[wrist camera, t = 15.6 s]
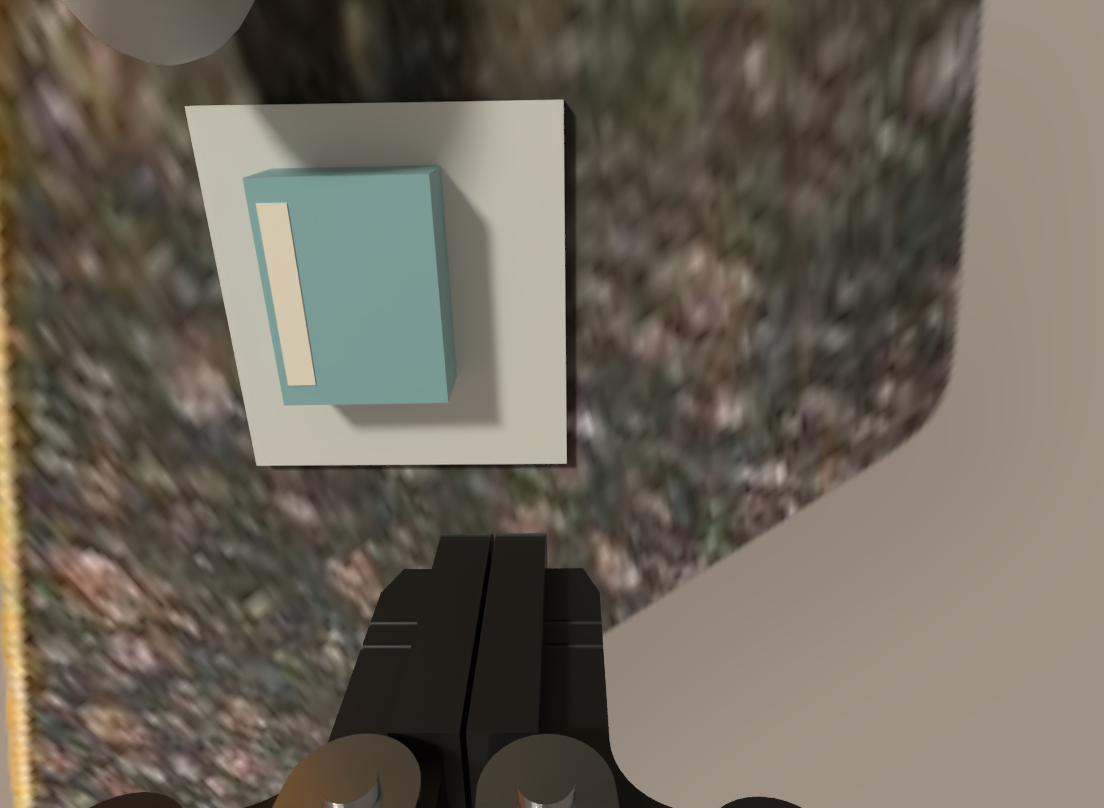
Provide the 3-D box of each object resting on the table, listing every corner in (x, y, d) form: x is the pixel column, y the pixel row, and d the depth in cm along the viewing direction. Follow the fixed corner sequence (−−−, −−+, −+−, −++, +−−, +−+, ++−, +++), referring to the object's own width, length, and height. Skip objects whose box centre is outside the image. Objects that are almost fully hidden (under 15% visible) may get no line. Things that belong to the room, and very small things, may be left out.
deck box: (440, 164, 26) (271, 168, 26) (428, 174, 24) (241, 178, 24) (457, 375, 29) (306, 378, 29) (448, 403, 27) (283, 406, 27)
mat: (192, 105, 26) (184, 106, 25) (563, 99, 26) (563, 100, 25) (261, 458, 32) (256, 465, 31) (566, 456, 31) (566, 463, 31)
